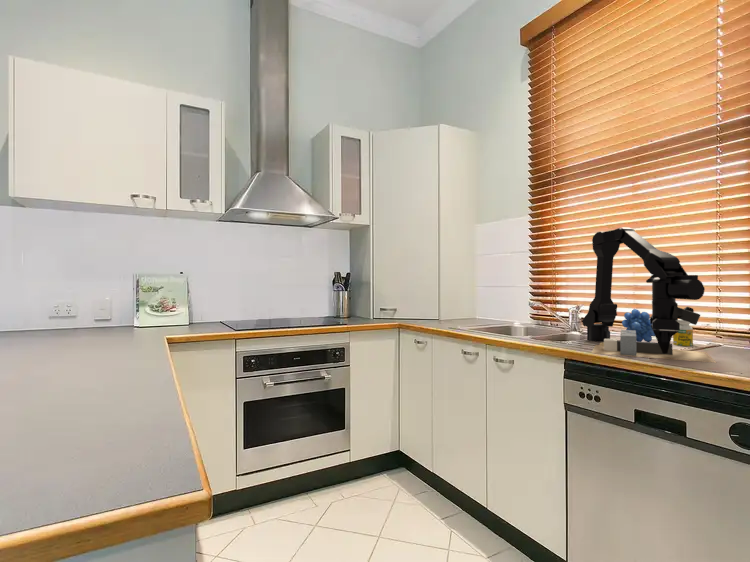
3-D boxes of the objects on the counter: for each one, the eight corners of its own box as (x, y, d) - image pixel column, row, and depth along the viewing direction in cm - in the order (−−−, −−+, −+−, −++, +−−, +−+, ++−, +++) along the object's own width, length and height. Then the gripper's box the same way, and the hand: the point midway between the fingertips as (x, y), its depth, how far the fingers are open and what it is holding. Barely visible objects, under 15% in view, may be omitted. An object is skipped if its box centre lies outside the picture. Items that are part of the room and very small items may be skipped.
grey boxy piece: (620, 354, 124) (620, 335, 124) (621, 346, 137) (621, 329, 137) (636, 355, 122) (636, 336, 122) (635, 347, 135) (635, 330, 135)
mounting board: (591, 357, 127) (591, 353, 127) (595, 348, 142) (595, 344, 142) (716, 367, 112) (716, 362, 112) (706, 356, 127) (706, 352, 127)
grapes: (617, 341, 157) (617, 309, 157) (624, 339, 162) (624, 308, 162) (652, 345, 148) (652, 310, 148) (659, 343, 153) (659, 309, 152)
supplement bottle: (689, 347, 143) (689, 319, 143) (695, 350, 138) (695, 320, 138) (670, 346, 144) (670, 318, 144) (676, 349, 139) (676, 320, 139)
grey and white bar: (599, 350, 132) (599, 339, 132) (600, 348, 135) (600, 338, 135) (672, 355, 122) (672, 344, 122) (671, 353, 126) (671, 342, 126)
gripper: (702, 300, 113) (702, 359, 113) (693, 297, 129) (693, 348, 129) (652, 299, 119) (652, 355, 119) (649, 296, 135) (650, 345, 135)
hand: (663, 351), depth 125 cm, fingers open, 9 cm apart
